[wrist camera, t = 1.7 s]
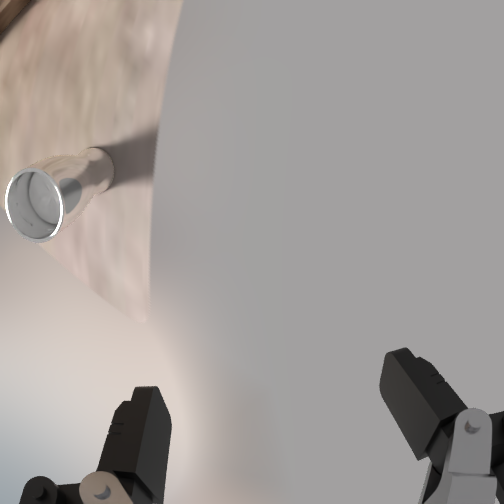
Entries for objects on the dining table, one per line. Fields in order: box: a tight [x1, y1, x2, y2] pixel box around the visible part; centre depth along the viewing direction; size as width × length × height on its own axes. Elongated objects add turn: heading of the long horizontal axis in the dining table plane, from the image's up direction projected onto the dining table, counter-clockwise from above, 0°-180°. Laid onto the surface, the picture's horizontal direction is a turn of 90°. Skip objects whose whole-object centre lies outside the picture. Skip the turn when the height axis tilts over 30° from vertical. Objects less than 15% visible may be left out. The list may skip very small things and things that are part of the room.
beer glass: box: [6, 148, 114, 243], centre depth 26 cm, size 7×7×15 cm
